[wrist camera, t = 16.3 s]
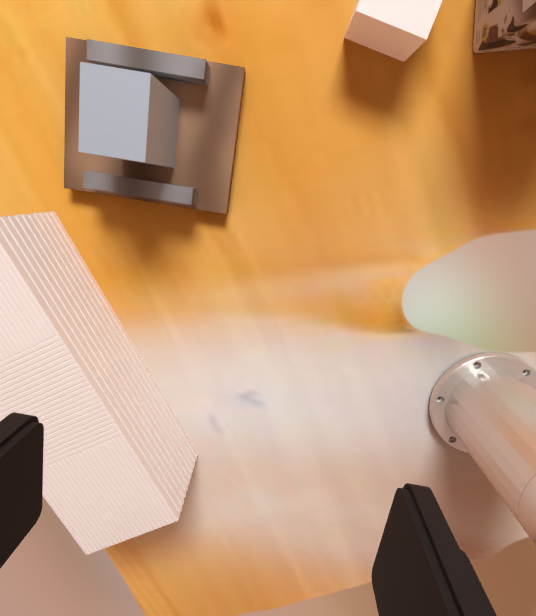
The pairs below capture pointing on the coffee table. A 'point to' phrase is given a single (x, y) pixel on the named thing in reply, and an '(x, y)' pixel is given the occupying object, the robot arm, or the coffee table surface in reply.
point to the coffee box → (504, 25)
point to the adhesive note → (392, 25)
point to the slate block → (127, 115)
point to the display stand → (190, 135)
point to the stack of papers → (85, 392)
